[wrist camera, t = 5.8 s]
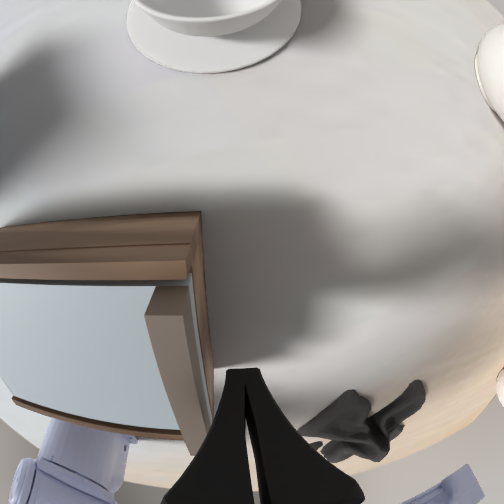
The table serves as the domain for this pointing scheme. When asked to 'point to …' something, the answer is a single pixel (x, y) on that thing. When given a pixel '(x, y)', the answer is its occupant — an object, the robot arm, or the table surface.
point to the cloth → (362, 425)
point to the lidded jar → (492, 68)
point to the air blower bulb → (500, 386)
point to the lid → (107, 351)
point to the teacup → (211, 32)
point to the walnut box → (114, 274)
